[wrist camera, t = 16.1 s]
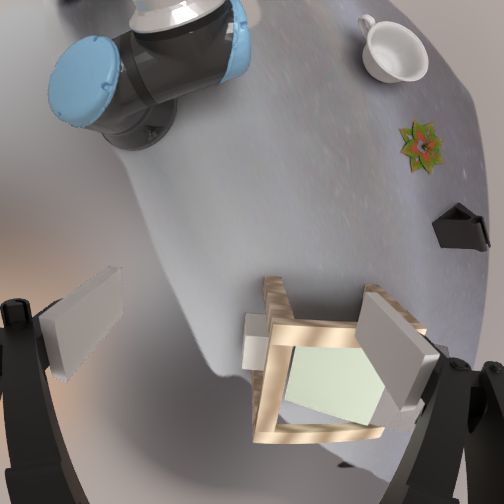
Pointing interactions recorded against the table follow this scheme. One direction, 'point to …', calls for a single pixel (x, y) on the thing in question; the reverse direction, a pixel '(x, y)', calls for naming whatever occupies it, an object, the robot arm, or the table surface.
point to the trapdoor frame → (277, 363)
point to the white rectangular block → (255, 342)
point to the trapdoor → (346, 387)
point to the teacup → (392, 51)
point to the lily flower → (431, 141)
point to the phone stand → (461, 229)
